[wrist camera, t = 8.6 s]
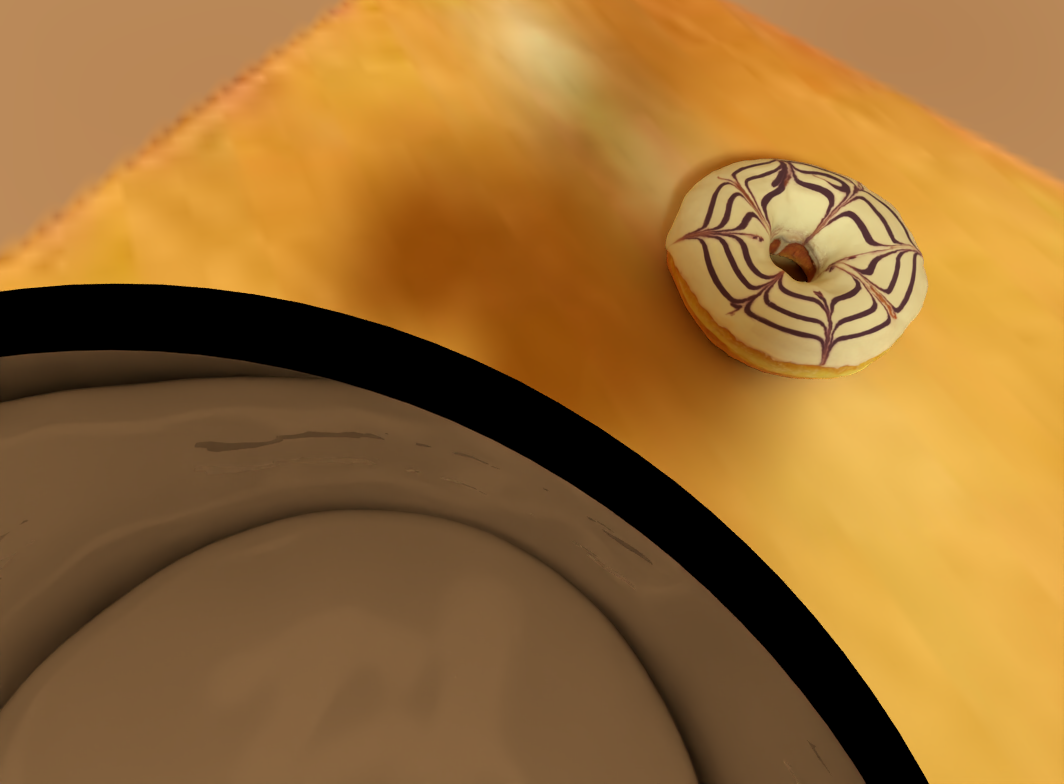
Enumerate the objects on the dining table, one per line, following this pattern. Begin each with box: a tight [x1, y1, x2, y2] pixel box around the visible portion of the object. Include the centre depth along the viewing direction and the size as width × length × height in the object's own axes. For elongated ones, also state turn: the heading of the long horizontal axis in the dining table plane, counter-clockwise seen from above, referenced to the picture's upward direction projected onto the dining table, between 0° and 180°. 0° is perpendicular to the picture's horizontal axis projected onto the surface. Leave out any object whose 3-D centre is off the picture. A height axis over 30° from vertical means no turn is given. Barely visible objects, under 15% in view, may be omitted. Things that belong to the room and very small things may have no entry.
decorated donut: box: [665, 159, 928, 379], centre depth 25 cm, size 10×11×4 cm
